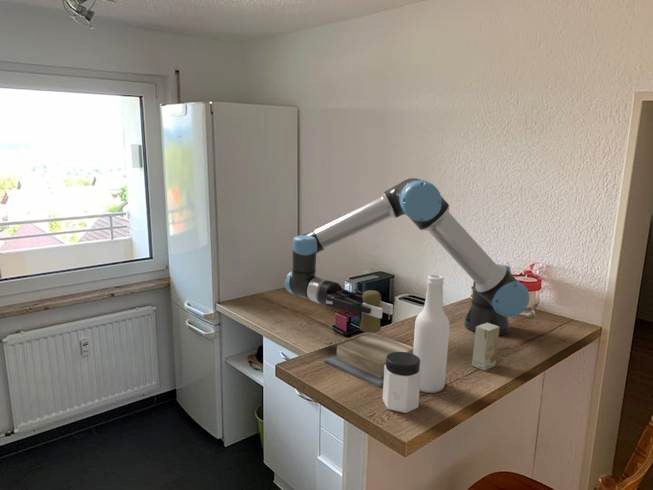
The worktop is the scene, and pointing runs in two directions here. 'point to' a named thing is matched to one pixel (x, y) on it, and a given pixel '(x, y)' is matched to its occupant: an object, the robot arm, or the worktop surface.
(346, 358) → the plinth
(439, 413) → the worktop surface
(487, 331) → the skincare box
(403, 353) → the jar
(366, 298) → the cork
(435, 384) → the alcohol
